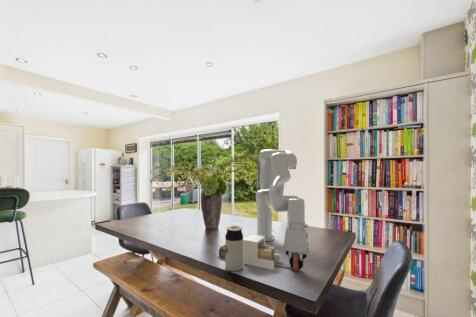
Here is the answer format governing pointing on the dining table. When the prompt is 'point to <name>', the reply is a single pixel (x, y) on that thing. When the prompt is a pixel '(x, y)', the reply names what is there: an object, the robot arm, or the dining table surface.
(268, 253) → the oak block with cord
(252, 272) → the dining table surface
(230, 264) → the travel mug
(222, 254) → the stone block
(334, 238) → the dining table surface
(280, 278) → the dining table surface
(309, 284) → the dining table surface
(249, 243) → the white l-shaped block
